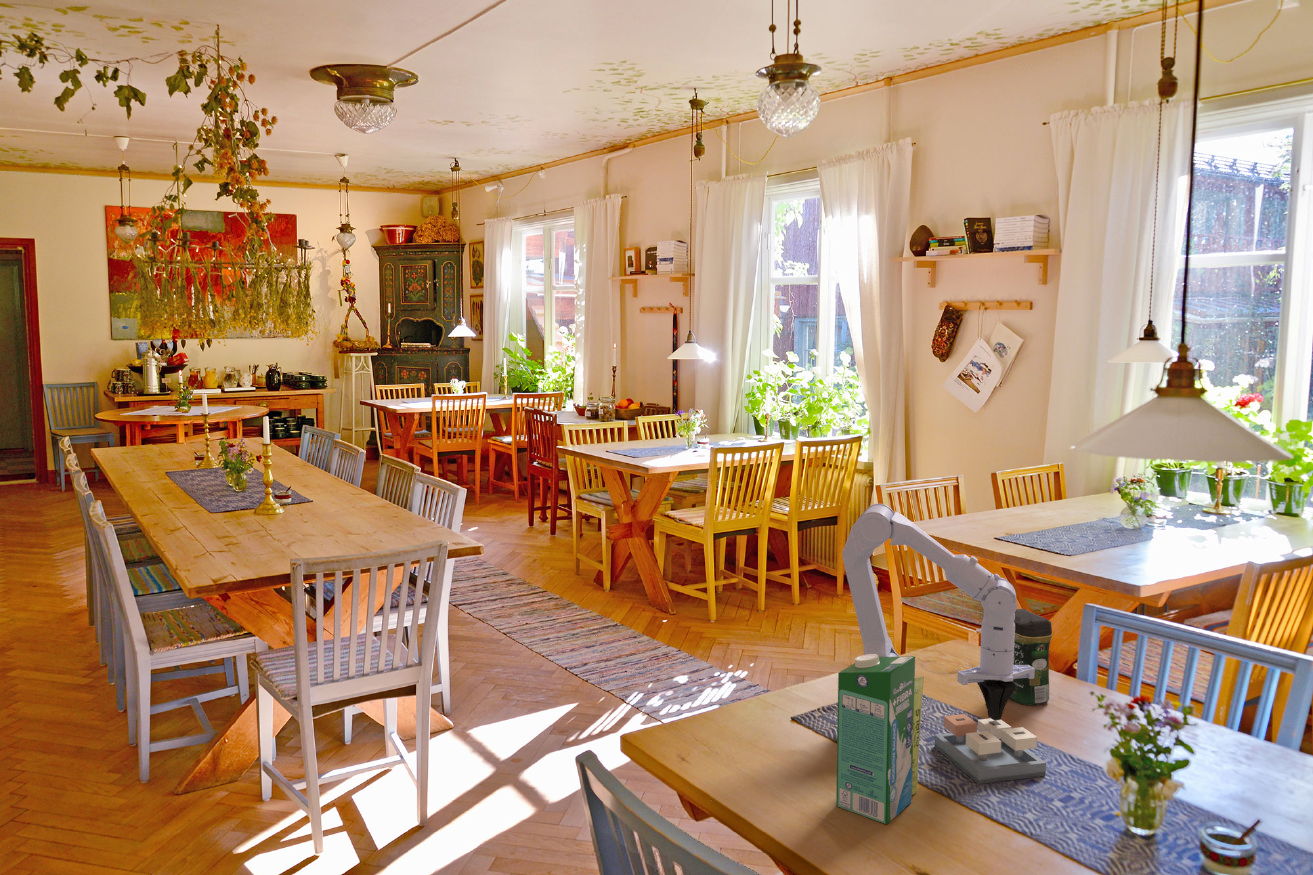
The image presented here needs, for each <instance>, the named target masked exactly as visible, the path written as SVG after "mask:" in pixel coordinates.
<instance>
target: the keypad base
mask: <svg viewBox="0 0 1313 875" xmlns="http://www.w3.org/2000/svg"><path fill="white" fill-rule="evenodd" d="M977 732H979V731H978V729H977ZM999 740H1000V741H1001V752H1000V753H991V754H987V761H981V760H979V755H978V754H977V753H976V752H975V751H973V750H972V749H971V748H970V747H968V746H967V745H966V735H964V742H957V741H956V736H955V735H954V734H952V733H951V732H947V733H938V734H934V748H935V749H936V750H938V751H939V752H940V754H942V755H943V756H944V757H946V759H948V760H949V761H950V762H951V763H953V764H954V766H956V767H957V768H958V769H959V770H961V771H962V772H963V773H964V774H965V775H966V776H967V777H968V778H970V779H971V780H973V782H975V783H976V784H977V785H982V784H990V783H991V784H992V783H999V782H1009V781H1014V780H1022V779H1023V780H1024V779H1032V778H1039V777H1046V773H1047V772H1046V771H1047V770H1046V769H1047V768H1046V767H1047V763H1046V761H1044V760H1043V759H1041V758H1040V757H1039V756H1038V755H1036V754H1034V752H1032V751H1030V749H1025V750H1023V756H1022V757H1017V756H1015V755H1014V749H1012V748H1011V747H1010V746H1008V745H1007V744H1006V743H1004V742H1003V741H1002V740H1001V739H999Z"/></svg>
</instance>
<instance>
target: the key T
mask: <svg viewBox="0 0 1313 875" xmlns="http://www.w3.org/2000/svg"><path fill="white" fill-rule="evenodd" d="M1001 740H1002V741H1003V742H1004V743H1006V744H1007V745H1008V746H1010V747H1011V748H1012V749H1014V755H1015V756H1017V757H1022V756H1023V750H1025V749H1028V750H1033V749H1037V748H1038V737H1037V736H1036V734H1033V733H1032V732H1031V731H1029V730H1028V729H1026V728H1025V727H1023V726H1021V727H1011V728H1010V729H1002V734H1001Z"/></svg>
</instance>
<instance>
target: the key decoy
mask: <svg viewBox="0 0 1313 875" xmlns="http://www.w3.org/2000/svg"><path fill="white" fill-rule="evenodd" d="M943 727H944V728H945V729H946V730H947V731H948V732H949V733H952V734H954V735H955V736H956V741H957V742H964V735H966V733H974V732H977V730H978V722H976V721H975V720H973V719H972V718H971V717H970V716H968V715H966V714H965V713H961V714H953V715H952V714H951V715H944V716H943Z"/></svg>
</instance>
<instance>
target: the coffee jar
mask: <svg viewBox="0 0 1313 875" xmlns="http://www.w3.org/2000/svg"><path fill="white" fill-rule="evenodd" d="M1014 613H1015V620H1014V623H1015V640H1014V663H1013V665H1029V666H1031V667H1033V668H1034V669H1035V673H1034V679H1029V678H1018V679H1013V681H1012V682H1013V683H1015V684H1016V688H1015V691H1014V692H1013V693H1012V694H1011V696H1010V697H1009V699H1010V700H1012V701H1014V702H1015V703H1017V704H1020V705H1026V706H1036V707H1037V706H1042V705H1044V704H1046V703H1048V702H1049V700H1050V657H1049V656H1050V644H1051V641H1052V638H1053V629H1052V628H1053V627H1052V626H1053V625H1052V621H1051V620H1049V619H1047V618H1045V617H1043V616H1041V615H1038V614H1036V613H1033V612H1032V611H1029V610H1027V609H1026V608H1017V609H1016V611H1015V612H1014Z"/></svg>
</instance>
